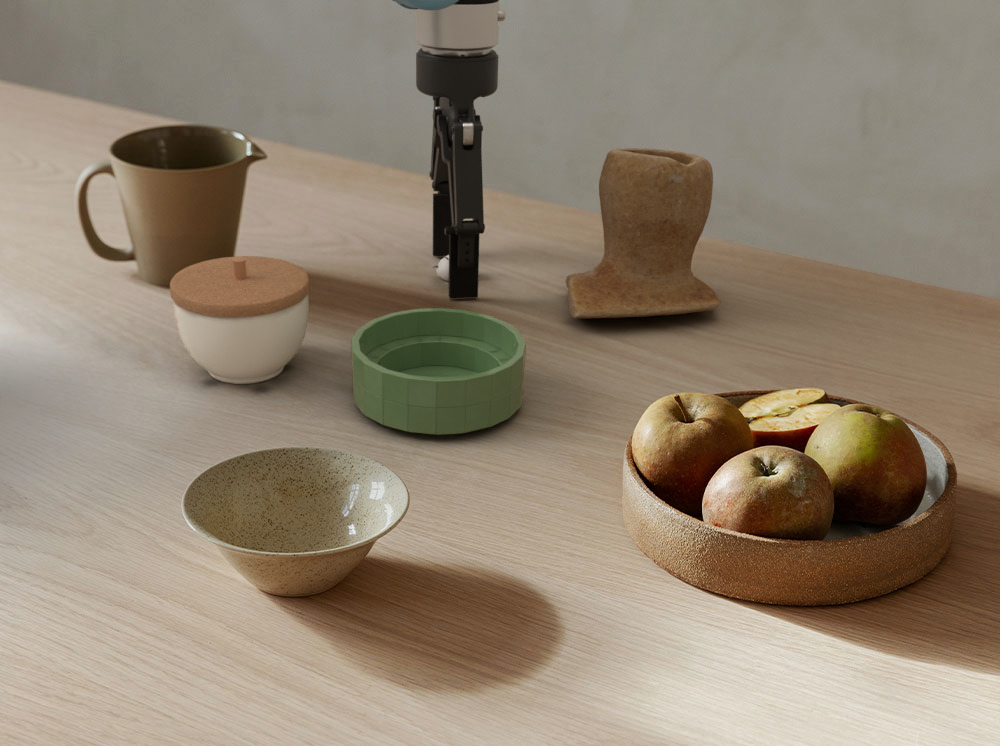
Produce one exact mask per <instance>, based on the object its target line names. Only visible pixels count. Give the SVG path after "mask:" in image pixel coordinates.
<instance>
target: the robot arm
mask: <svg viewBox="0 0 1000 746" xmlns="http://www.w3.org/2000/svg"><path fill="white" fill-rule="evenodd" d="M392 1H393V2H395V3H397V4H398V5H400V7H402V8H404V9H408V10H415V11H414V12H415V16H414V18H415V19H414V20H415V21H414V23H415V27H414V28H415V34H414V35H415V37H414V38H415V39H414V40H415V42H416V43H417V44H418V46H421V48H419V49H418V51H416V53H415V87H416V88H417V90H418V91H419V92H420V93H422V94H423V95H426V96H429V97H432V101H433V110H432V122H433V123H432V141H431V155H430V156H431V159H430V171H429V178H430V180H431V182H432V183H431V188H432V190H433V192H435V193H432V256H433V257H445V256H447V255H449V281H448V298H449V299H471V298H478V297H479V270H480V269H479V266H480V265H479V264H480V263H479V262H480V234H481V235H482V234H484V233H485V229H486V224H485V217H484V215H485V214H484V190H483V189H484V186H483V185H484V184H483V155H482V154H483V153H482V143H483V142H482V139H483V131H484V126H483V124H482V121H481V115H480V114H477V112H476V109H475V103H474V102H475V101H476V100H477V99H478V98H485V97H489V96H491V95H493V94H495V92H497V90H498V86H499V85H498V83H499V54H497V52H496V51H495V50H494V49H492V48H495V47H496V46H497V45H498V44H499V33H500V32H499V30H500V29H499V28H500V27H499V24H498V23H499V22H504V21H505V20H506V15H507V13H506V12H505V10H503V9H500V0H392ZM436 192H437V193H436Z"/></svg>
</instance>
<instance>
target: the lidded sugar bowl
mask: <svg viewBox="0 0 1000 746" xmlns="http://www.w3.org/2000/svg"><path fill="white" fill-rule="evenodd" d="M309 292H310V276H309V275H308V273H307V271H306V270H304V268H302V267H301V266H299V265H297V264H295V263H293V262H290V261H287V260H284V259H279V258H275V257H266V256H257V255H255V256H254V255H238V256H225V257H218V258H213V259H212V258H211V259H208V260H203V261H200V262H197V263H193V264H191V265H189V266H186V267H184V268H183V269H180V270H179V271H178V272H177V273H175V274H174V276H173V277H172V278H171V280H170V282H169V293H170V298H171V300H172V307H173V313H174V314H173V316H174V321H175V325H176V328H177V329H176V330H177V332H178V334H179V338H180V340H181V343H182V345H183V347H184V348H185V350H186V352H187V353H188V354H189V356H190V357H191V358H192V360H193V361H194V362H196V364H198V365H199V366H200V367H202V368H203V369H205V370H206V371H207V372H208V374H209V376H211V377H212V378H213V379H215V380H217V381H218V382H219V381H220V382H223V383H227V384H233V385H235V384H236V385H249V384H256V383H257V384H258V383H262V382H265V381H268V380H270V379H271V380H272V379H273V378H275V377H278V376H279V375H280V374H281V373H282V372H283V370H284V369H285V366H286V365H287V364H289V362H291V361H292V359H293V358H294V357H295V356H296V355H297V353H298V351H299V350H300V348H301V347H302V344H303V342H304V339H305V338H306V334H307V333H306V332H307V327H308V322H309V320H308V319H309V312H310V311H309V309H310V307H309V306H310V305H309V303H310V301H309Z"/></svg>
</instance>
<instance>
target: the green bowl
mask: <svg viewBox="0 0 1000 746" xmlns="http://www.w3.org/2000/svg"><path fill="white" fill-rule="evenodd" d="M350 353H351V354H350V355H351V356H350V357H351V391H352V399H353V403H354V405H355V406H356V408H358V409H359V411H360V412H361V413H362V414H363V416H365V417H367V418H369V419H370V420H373V421H374V422H376V423H378V424H380V425H382V426H384V427H388V428H392V429H396V430H400V431H404V432H407V433H414V434H415V433H416V434H425V435H435V436H436V435H437V436H441V435H442V436H443V435H455V434H456V435H457V434H465V433H471V432H475V431H479V430H484V429H488V428H491V427H494V426H496V425H497V424H500V423H502V422H504V421H507V420H509V419H510V418H511V417H512V416H513V415H514V414H515V413H516V412H517V411H518V410H519V409H520V408H521V406H522V403H523V398H524V394H525V378H526V377H525V376H526V375H525V374H526V360H527V359H526V355H527V342H526V341H525V339H524V337H523V335H522V333H521V332H520V331H519V330H518V329H517V328H515V327H514V326H513V325H512V324H510V323H509V322H507V321H504V320H502V319H499V318H496V317H494V316H492V315H489V314H485V313H482V312H481V313H480V312H476V311H472V310H468V309H458V308H447V307H431V308H430V307H428V308H414V309H407V310H406V309H405V310H401V311H395V312H390V313H388V314H385V315H382V316H379V317H377V318H373V319H371V320H370V321H368V322H367V323H365V324H363V325H361V326H360V327H359V328H358V329H357V330H356V331H355V333H354V334H353V336H352V338H351V340H350Z"/></svg>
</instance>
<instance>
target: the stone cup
mask: <svg viewBox="0 0 1000 746" xmlns="http://www.w3.org/2000/svg"><path fill="white" fill-rule="evenodd" d="M600 172H601V173H600V176H599V180H598V196H599V206H600V213H601V222H602V230H603V256H602V258H601V261H600V263H599V264H598V265H597V266H595V267H594V268H593V269H591V270H587V271H582V272H577V273H571V274H568V275H567V276H566V278H565V285H566V288H567V296H566V297H567V299H568V309H569V313H570V315H571V317H572V318H573V319H620V318H643V317H655V316H671V315H681V314H690V313H701V312H707V311H712V310H715V309H717V308H718V307H719V306H720V303H721V299H720V298H719V296H718V294H717V292H716V291H715V290H714V289H713V288H712V287H711V286H710V285H708V284H707V283H705V282H704V281H703V280H701V279H699V278H698V277H696V276H694V274H693V272H692V262H693V257H694V253H695V250H696V247H697V244H698V242H699V240H700V237H701V236H702V234H703V231H704V229H705V227H706V224H707V220H708V218H709V215H710V210H711V205H712V200H713V187H714V173H713V172H714V171H713V167H712V164H711V162H710V161H709V160H708V159H707V158H705V157H703V156H699V155H697V154H693V153H690V152H689V153H687V152H683V151H677V150H670V149H659V148H658V149H657V148H638V147H637V148H636V147H635V148H634V147H633V148H632V147H626V148H619V147H618V148H611V149H610V150H609V151H608V152H607V154H606V156H605V159H604V162H603V164H602V168H601V171H600Z"/></svg>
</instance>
